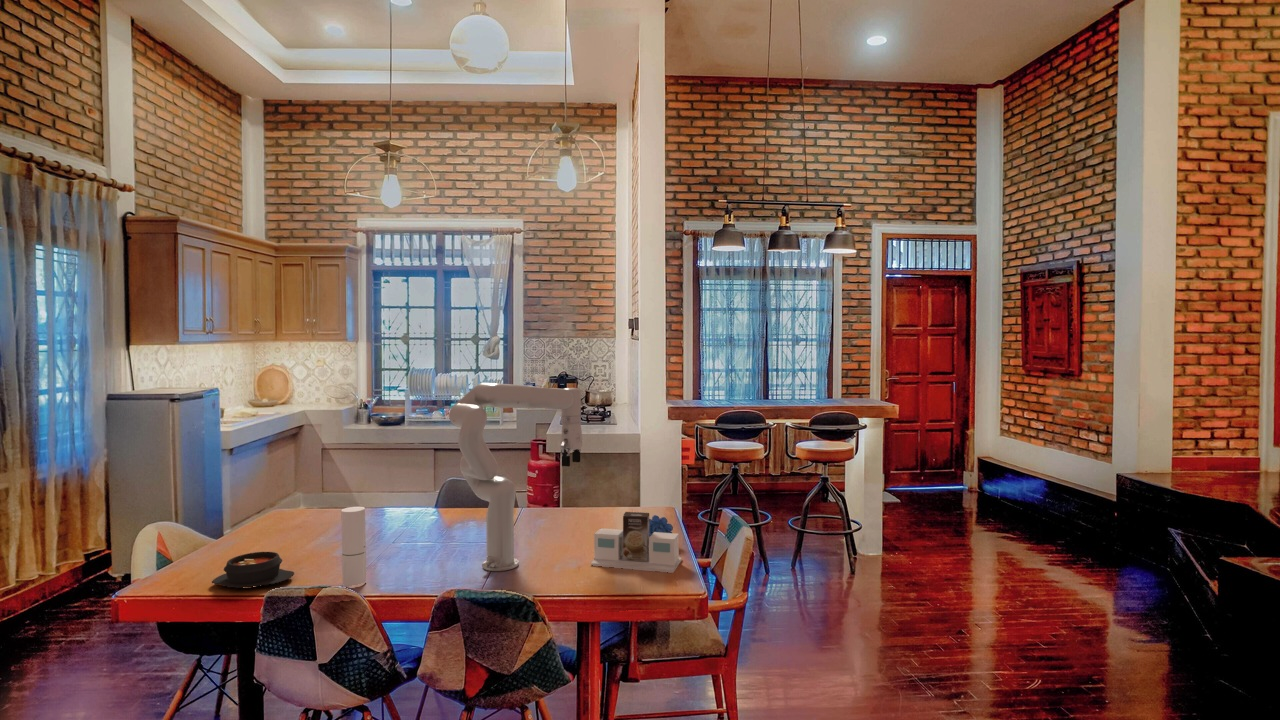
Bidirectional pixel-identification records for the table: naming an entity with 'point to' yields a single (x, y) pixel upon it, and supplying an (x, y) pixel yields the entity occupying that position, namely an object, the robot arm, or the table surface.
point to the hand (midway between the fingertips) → (571, 464)
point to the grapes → (659, 525)
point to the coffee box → (635, 536)
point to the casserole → (253, 570)
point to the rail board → (660, 559)
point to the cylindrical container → (353, 546)
